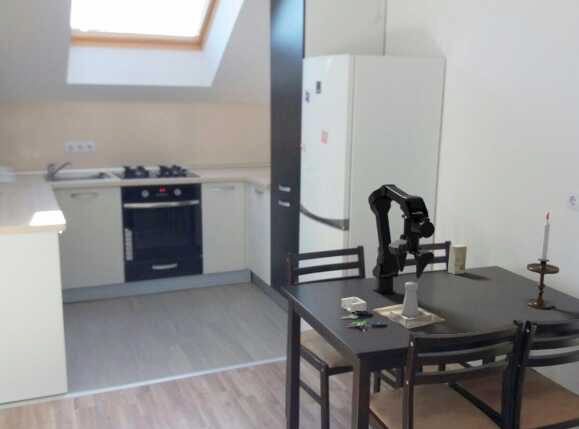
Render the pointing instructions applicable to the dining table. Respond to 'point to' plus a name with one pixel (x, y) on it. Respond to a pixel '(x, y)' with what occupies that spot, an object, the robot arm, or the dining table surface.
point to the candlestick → (542, 271)
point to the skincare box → (457, 259)
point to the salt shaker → (410, 301)
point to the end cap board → (397, 317)
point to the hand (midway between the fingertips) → (409, 274)
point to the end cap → (353, 304)
